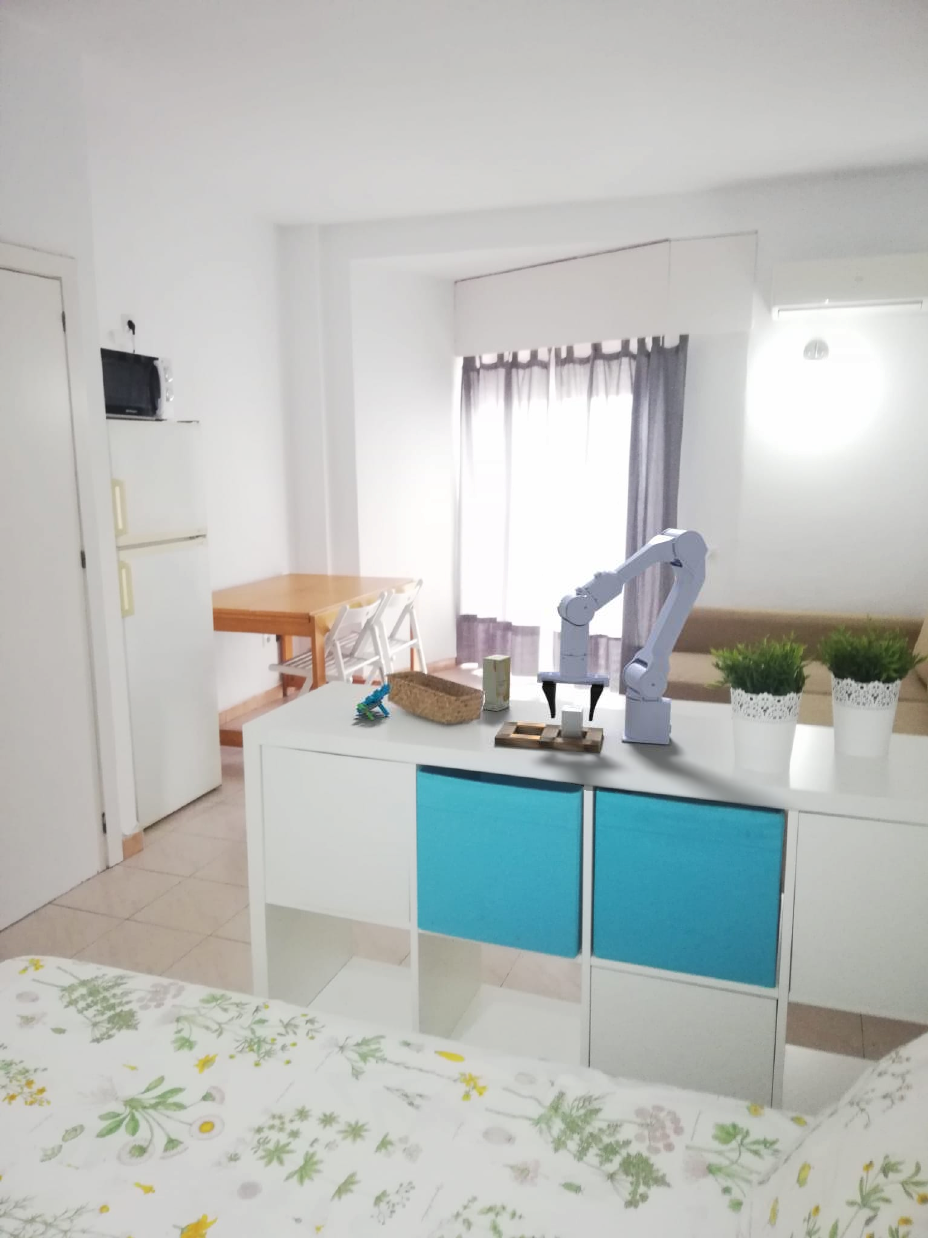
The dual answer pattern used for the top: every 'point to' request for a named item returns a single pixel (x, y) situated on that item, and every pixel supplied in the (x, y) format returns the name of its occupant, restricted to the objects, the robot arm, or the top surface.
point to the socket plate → (547, 737)
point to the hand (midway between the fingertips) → (571, 718)
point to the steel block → (572, 722)
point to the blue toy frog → (374, 701)
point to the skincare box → (496, 682)
